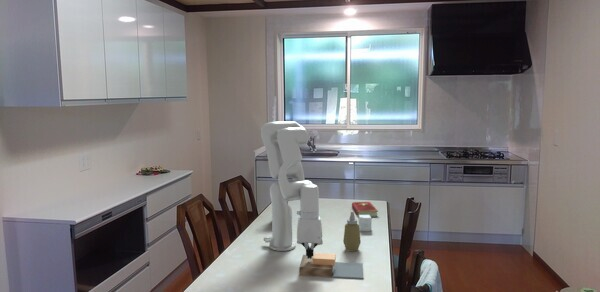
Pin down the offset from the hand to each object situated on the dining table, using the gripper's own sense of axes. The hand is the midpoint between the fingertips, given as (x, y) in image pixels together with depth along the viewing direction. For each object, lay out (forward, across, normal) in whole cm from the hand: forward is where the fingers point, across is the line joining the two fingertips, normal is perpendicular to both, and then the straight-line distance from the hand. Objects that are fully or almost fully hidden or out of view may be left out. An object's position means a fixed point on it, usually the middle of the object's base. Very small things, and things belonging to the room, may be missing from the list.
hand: (309, 257), depth 170 cm
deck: (+5, +3, 0) cm, 6 cm away
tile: (+2, +6, 0) cm, 6 cm away
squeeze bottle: (+5, +17, +24) cm, 30 cm away
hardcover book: (+6, +24, +88) cm, 92 cm away
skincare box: (+5, +24, +54) cm, 60 cm away
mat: (+5, +16, 0) cm, 17 cm away
